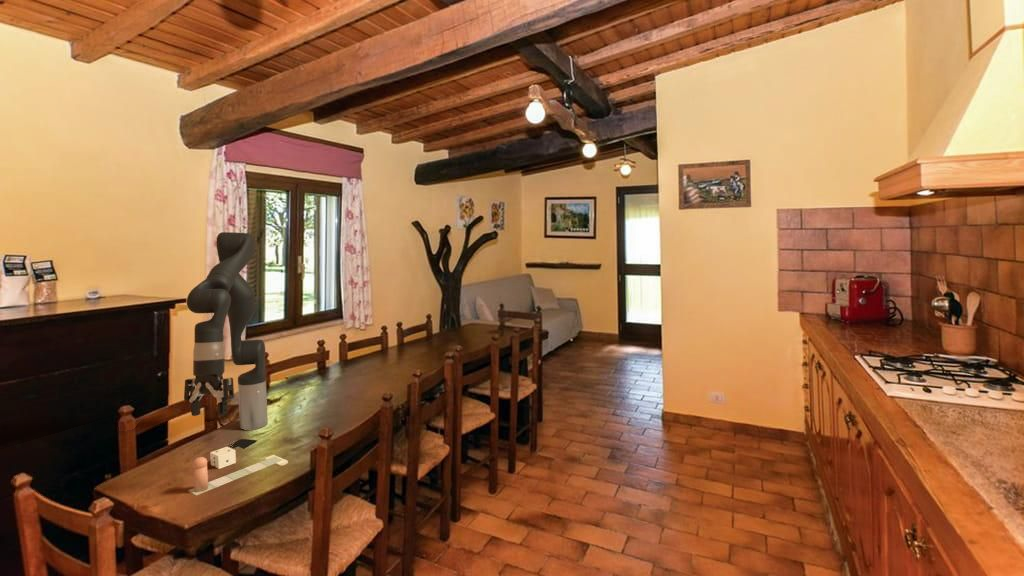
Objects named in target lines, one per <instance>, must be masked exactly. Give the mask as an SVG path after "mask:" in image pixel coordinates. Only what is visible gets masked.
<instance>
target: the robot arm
mask: <svg viewBox="0 0 1024 576" xmlns="http://www.w3.org/2000/svg"><path fill="white" fill-rule="evenodd" d="M215 243H216V251H217V256H218V257H217V258H218V263H217V264H215V265H214V266H213V267H212V268H211V269H210V270H209V272H208V274H207V276H206V277H205V279H204V280H203V281H201V282H200V283H199V284H197V285H196V286H195V287H193V289H191V290H190V292H189V293H188V295H187V297H186V306H187V309H188V310H189V311H190V312H192V313H194V314H213V315H212V316H211V318H210V319H209V320H205V321H204V320H203V321H200V322H197V323H196V324H195V326H194V345H193V353H192V356H193V358H192V359H193V361H192V362H193V366H192V374H193V375H192V376H195V378H194V377H193V378H186V379H185V380H184V388H183V389H184V393H183V394H184V396H183V399H184V401H189V403H190V414H191V416H192V417H197V416H199V415H201V400H202V397H203V396H205V395H206V394H207V395H212V396H213V397H214V398H215V399H216V400H217V415H218V417H220V416H221V417H222V416H224V415H227V412H228V401H229V400H233V399H234V398H235V392H234V390H235V387H234V378H233V377H227V378H224V377H223V375H224V373H225V355H226V354H225V345H224V329H225V323H226V319H228V324H229V334H230V349H231V358H232V362H233V364H234V365H235V366H249V365H250V366H251V365H255V366H254V368H252V369H250V370H248V371H246V372H244V373H241V374H240V375H238V377H237V387H238V388H237V389H238V414H239V415H238V416H239V418H238V419H239V428H240V429H241V430H242V429H244V430H243V431H253V430H258V429H261V428H263V427H266V426H267V425H268V424H269V421H268V401H267V399H268V398H267V378H266V344H265V342H264V340H262V339H248V340H247V339H246V340H243V339H242V335H243V332H244V331H245V328H246V327H247V325H248V323H249V322H250V321H251V320H252V318H253V316H254V315H255V313H256V310H257V302H256V294H255V293H256V292H255V290H254V289H253V287H252V286H251V285H250V283H248V281H247V280H246V279H245V278H244V277H243V276H242V274H241V273H240V272H242V270H243V269H245V267H246V266H247V265H248V264H249V263H250V262H251V260H252V259H253V257H254V255H255V253H256V248H257V246H256V245H257V244H256V239H255V237H254V235H253V234H252V233H251V234H250V233H247V232H233V231H232V232H227V231H225V232H224V231H223V232H220V233H218V234H217V236H216V242H215ZM227 317H228V318H227Z"/></svg>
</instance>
